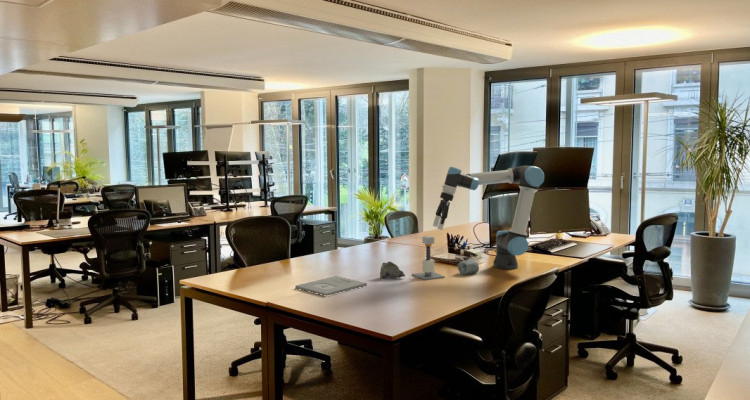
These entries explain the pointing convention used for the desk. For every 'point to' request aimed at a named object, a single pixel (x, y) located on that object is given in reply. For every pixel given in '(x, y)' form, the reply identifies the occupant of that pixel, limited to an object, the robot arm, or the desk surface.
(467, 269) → the grey oval lump
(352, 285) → the award plaque
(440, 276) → the stand
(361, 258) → the desk surface
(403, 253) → the desk surface
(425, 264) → the sleeve
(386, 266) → the mineral rock
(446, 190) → the robot arm
